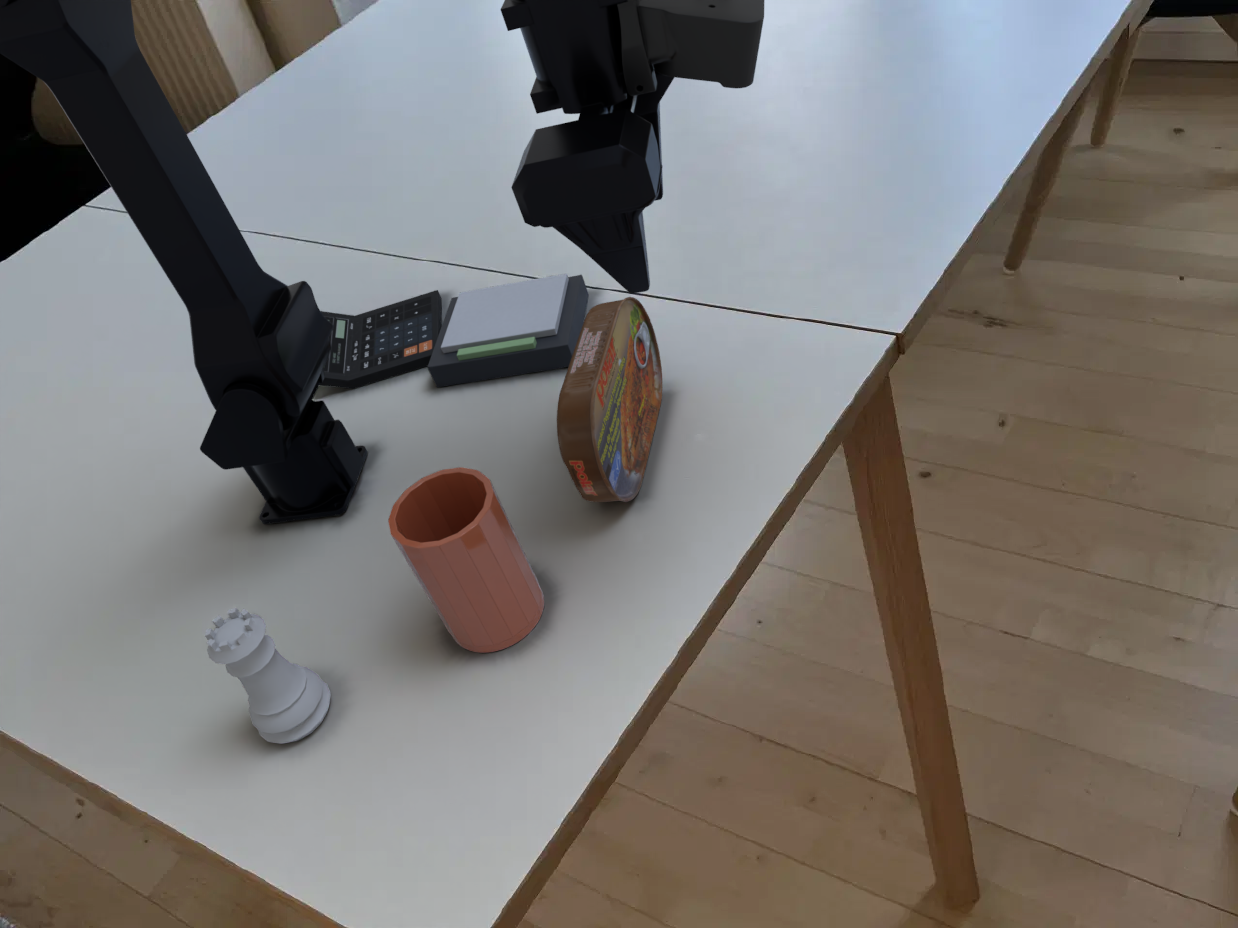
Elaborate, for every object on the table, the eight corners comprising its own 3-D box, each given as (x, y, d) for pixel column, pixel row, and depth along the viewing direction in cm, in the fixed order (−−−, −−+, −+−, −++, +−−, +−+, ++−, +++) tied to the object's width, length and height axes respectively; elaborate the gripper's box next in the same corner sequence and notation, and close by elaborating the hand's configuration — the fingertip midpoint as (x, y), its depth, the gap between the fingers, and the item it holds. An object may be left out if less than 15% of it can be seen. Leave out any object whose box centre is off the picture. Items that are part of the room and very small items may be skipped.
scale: (436, 387, 81) (423, 361, 79) (460, 317, 87) (448, 291, 85) (575, 366, 78) (565, 338, 76) (589, 295, 84) (579, 267, 83)
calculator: (442, 361, 83) (428, 330, 81) (302, 404, 84) (284, 375, 82) (441, 298, 90) (428, 268, 88) (312, 338, 91) (296, 309, 89)
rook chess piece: (315, 667, 63) (249, 579, 58) (347, 710, 60) (281, 622, 55) (249, 716, 61) (175, 631, 56) (278, 763, 58) (204, 677, 53)
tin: (630, 530, 64) (592, 427, 59) (581, 531, 65) (539, 430, 60) (670, 370, 75) (641, 270, 69) (628, 374, 76) (595, 275, 70)
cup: (440, 656, 61) (376, 552, 55) (460, 578, 65) (403, 474, 59) (536, 648, 59) (481, 540, 54) (550, 569, 64) (501, 461, 58)
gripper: (728, -15, 40) (797, 319, 50) (739, -154, 53) (792, 132, 63) (454, 53, 43) (571, 356, 53) (530, -95, 56) (612, 170, 66)
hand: (647, 242), depth 59 cm, fingers open, 9 cm apart
